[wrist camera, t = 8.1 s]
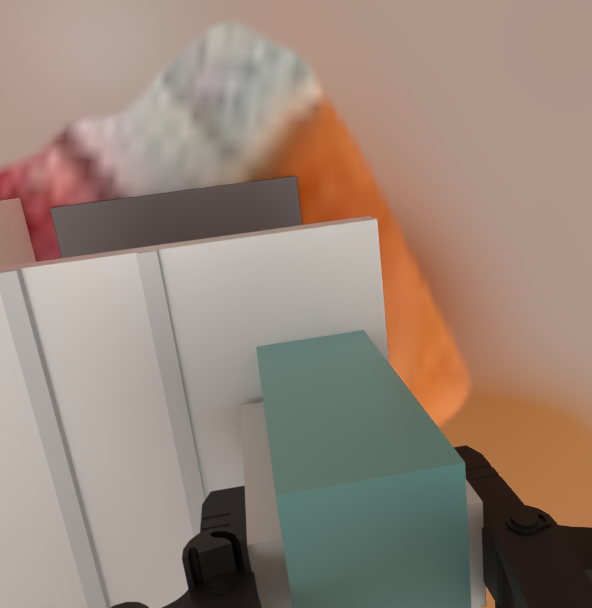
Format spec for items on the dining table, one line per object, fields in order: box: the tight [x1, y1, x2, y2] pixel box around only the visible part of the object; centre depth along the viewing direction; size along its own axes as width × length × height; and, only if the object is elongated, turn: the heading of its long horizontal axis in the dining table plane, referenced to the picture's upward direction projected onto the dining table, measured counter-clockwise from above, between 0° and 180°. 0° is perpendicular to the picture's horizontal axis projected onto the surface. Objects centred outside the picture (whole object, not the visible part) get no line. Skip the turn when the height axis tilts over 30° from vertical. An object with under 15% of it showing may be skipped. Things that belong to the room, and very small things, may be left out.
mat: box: [50, 176, 302, 258], centre depth 42 cm, size 18×14×1 cm
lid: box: [0, 216, 471, 608], centre depth 15 cm, size 17×13×9 cm
